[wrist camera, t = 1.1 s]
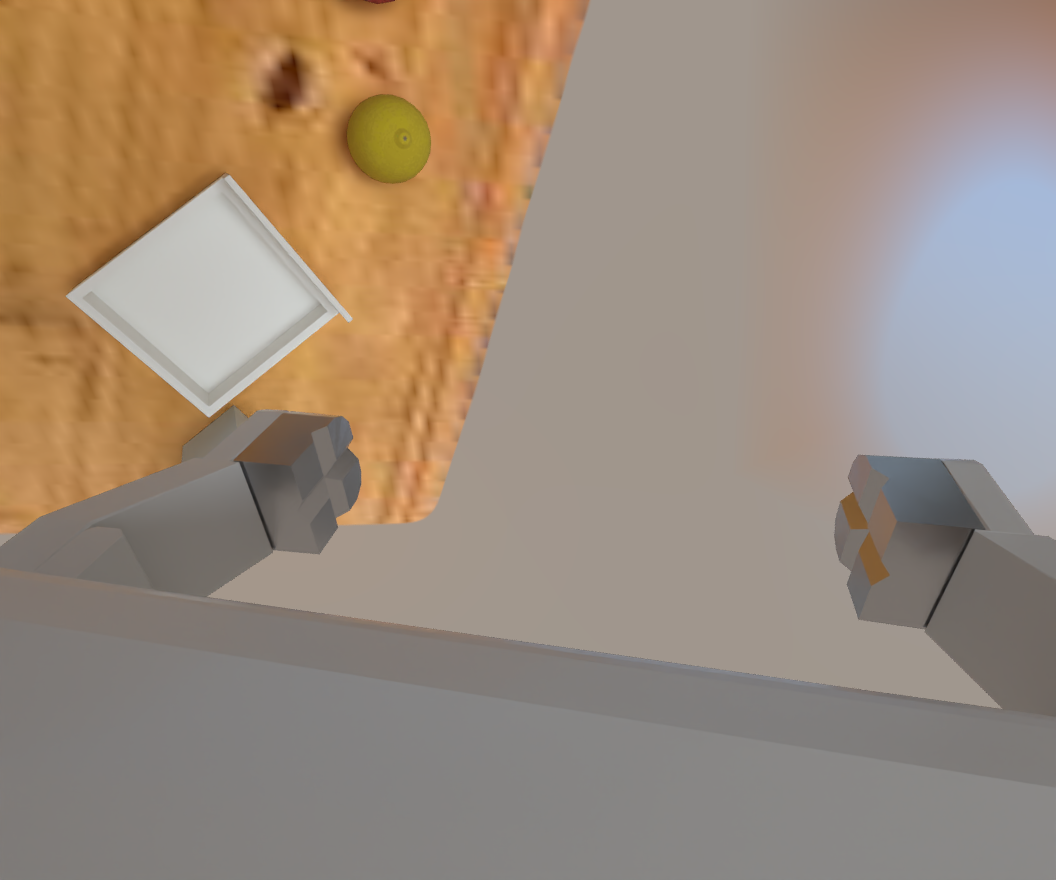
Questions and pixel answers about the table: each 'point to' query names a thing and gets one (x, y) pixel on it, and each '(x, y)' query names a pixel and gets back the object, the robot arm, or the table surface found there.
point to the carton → (213, 434)
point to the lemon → (388, 138)
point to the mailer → (209, 296)
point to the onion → (379, 1)
